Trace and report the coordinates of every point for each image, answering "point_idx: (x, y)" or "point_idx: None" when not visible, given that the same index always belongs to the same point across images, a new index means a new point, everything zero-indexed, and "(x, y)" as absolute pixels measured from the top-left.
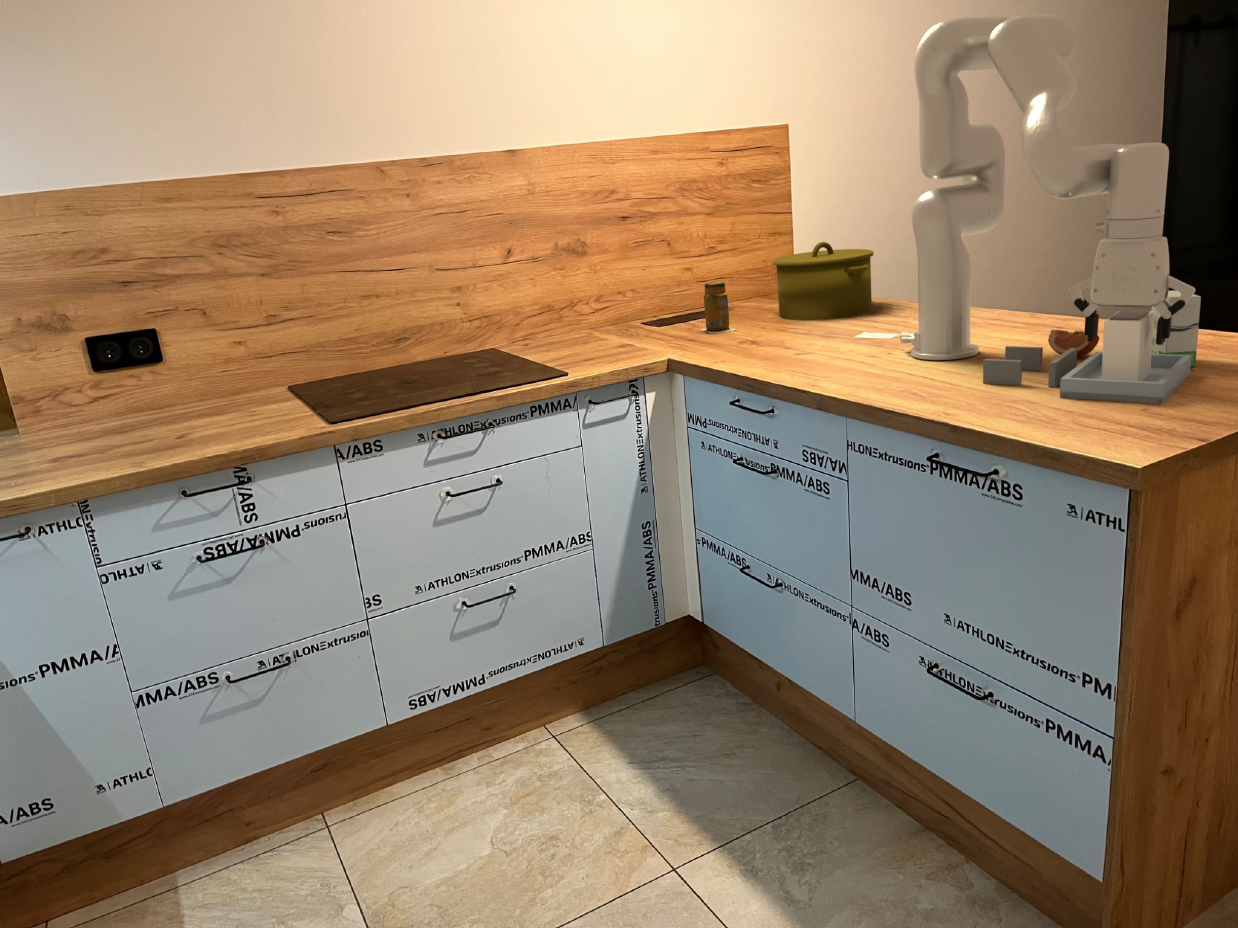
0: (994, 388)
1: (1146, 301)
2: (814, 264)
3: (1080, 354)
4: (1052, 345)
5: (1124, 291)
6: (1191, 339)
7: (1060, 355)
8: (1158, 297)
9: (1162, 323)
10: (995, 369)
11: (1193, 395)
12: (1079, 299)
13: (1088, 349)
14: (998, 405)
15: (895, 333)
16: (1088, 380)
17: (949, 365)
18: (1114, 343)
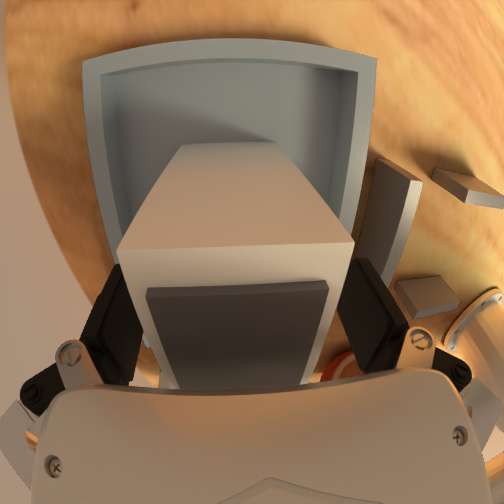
0: (464, 141)
1: (106, 413)
2: None
3: (339, 356)
4: None
5: (276, 494)
6: (164, 388)
7: (396, 265)
8: (48, 425)
9: (89, 320)
10: (483, 186)
11: (75, 167)
12: (462, 385)
13: (330, 367)
14: (436, 8)
15: None
16: (298, 43)
17: (485, 275)
18: (261, 185)
